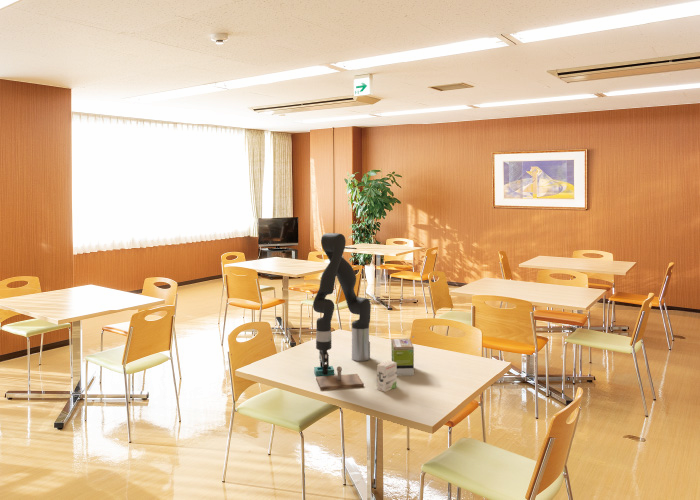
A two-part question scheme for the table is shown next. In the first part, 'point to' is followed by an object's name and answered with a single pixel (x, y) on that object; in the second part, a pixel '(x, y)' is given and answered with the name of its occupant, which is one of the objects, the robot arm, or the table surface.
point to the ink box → (386, 375)
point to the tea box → (403, 356)
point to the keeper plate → (339, 381)
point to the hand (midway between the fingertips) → (323, 371)
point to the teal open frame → (319, 371)
